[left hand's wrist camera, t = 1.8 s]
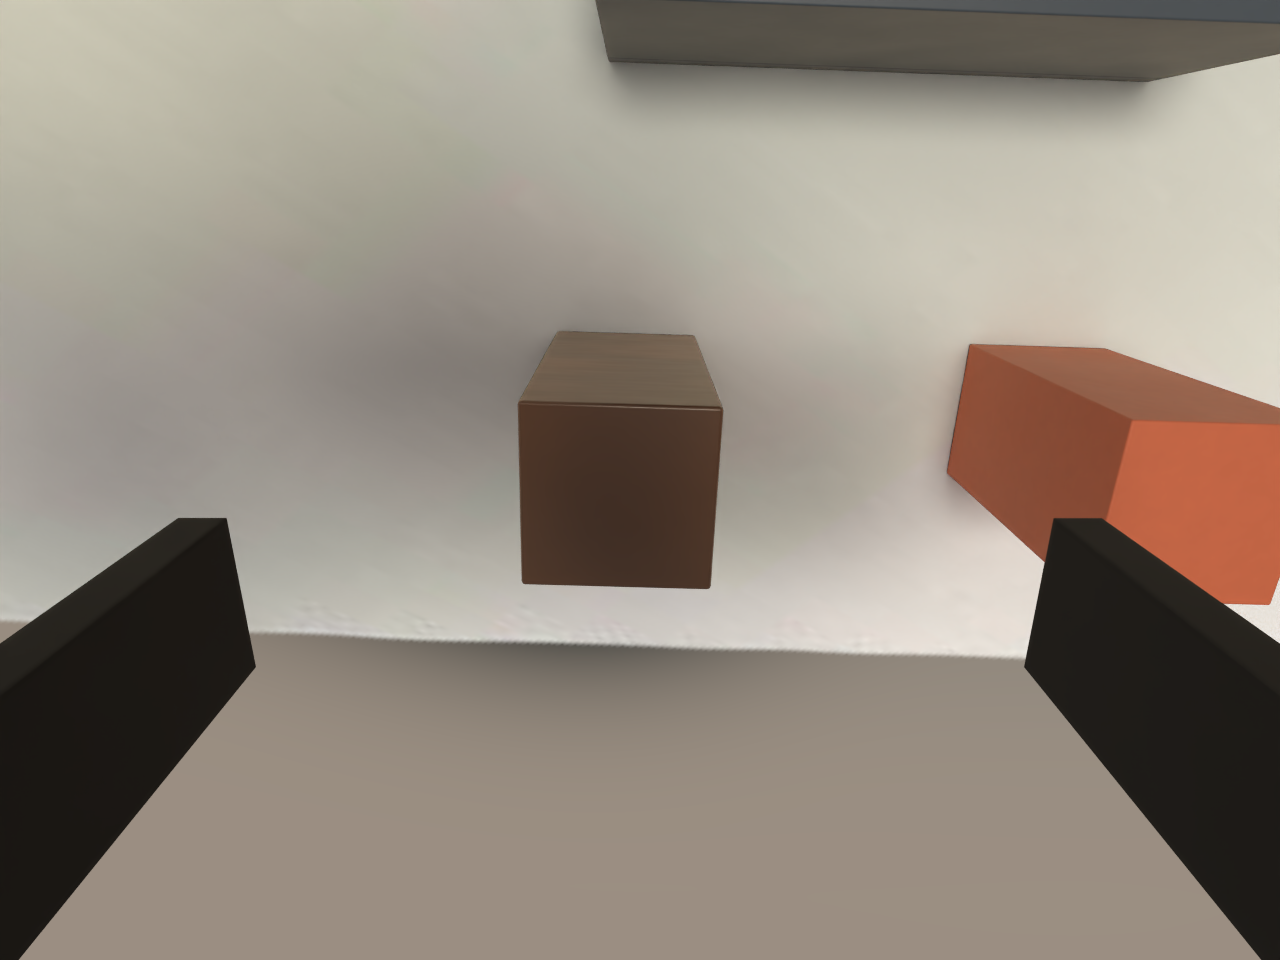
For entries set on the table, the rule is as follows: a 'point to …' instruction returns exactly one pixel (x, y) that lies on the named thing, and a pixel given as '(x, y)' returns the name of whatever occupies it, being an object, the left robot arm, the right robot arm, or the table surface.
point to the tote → (947, 35)
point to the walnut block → (619, 463)
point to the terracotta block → (1125, 460)
